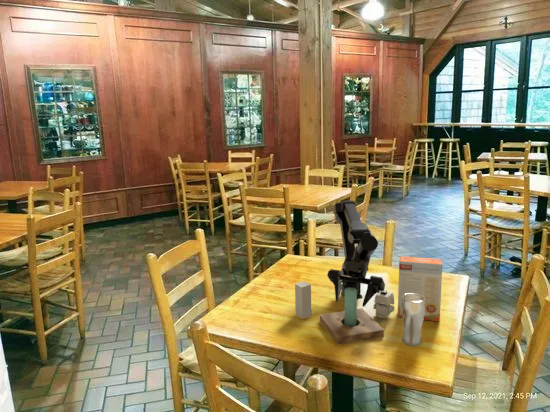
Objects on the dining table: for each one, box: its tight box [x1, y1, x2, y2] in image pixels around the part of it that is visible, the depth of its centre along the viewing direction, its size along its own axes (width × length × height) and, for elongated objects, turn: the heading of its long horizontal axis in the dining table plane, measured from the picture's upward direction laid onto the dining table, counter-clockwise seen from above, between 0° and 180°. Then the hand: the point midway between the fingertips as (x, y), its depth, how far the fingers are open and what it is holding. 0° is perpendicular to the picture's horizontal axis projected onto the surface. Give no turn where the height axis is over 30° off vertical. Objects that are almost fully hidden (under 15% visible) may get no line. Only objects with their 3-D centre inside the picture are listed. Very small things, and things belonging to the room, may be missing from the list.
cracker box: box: [397, 255, 443, 322], centre depth 151 cm, size 14×6×21 cm, turn 70°
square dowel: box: [294, 280, 312, 320], centre depth 155 cm, size 4×4×12 cm
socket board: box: [319, 308, 385, 346], centre depth 146 cm, size 16×16×2 cm
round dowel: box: [343, 287, 358, 327], centre depth 145 cm, size 4×4×14 cm
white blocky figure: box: [373, 289, 395, 319], centre depth 152 cm, size 6×7×10 cm
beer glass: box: [401, 293, 425, 347], centre depth 136 cm, size 7×7×15 cm
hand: (349, 303), depth 143 cm, fingers open, 9 cm apart
